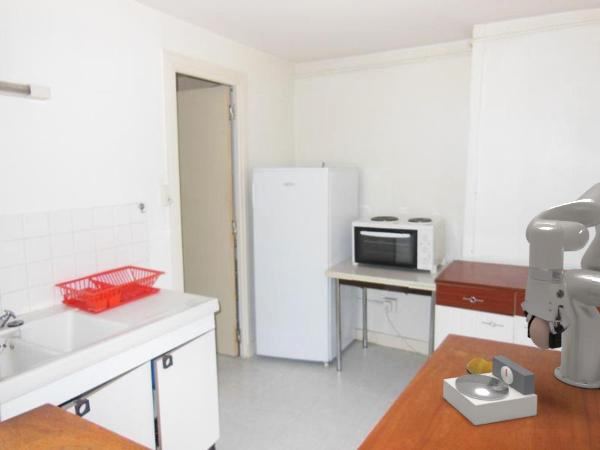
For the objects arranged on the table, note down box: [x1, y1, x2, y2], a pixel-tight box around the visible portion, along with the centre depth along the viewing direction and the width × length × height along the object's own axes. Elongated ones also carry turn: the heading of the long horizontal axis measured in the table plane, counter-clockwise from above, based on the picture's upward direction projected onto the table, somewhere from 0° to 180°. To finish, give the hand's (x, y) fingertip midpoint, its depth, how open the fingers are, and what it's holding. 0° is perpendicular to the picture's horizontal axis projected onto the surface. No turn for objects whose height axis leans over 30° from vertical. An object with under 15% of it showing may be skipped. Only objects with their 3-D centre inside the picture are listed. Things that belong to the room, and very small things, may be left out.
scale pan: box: [455, 373, 509, 401], centre depth 115 cm, size 13×13×1 cm
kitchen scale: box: [442, 355, 538, 426], centre depth 115 cm, size 17×14×10 cm
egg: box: [530, 317, 557, 350], centre depth 115 cm, size 7×7×9 cm
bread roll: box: [466, 357, 493, 374], centre depth 134 cm, size 8×9×4 cm
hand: (543, 341), depth 115 cm, fingers closed on egg, 6 cm apart
